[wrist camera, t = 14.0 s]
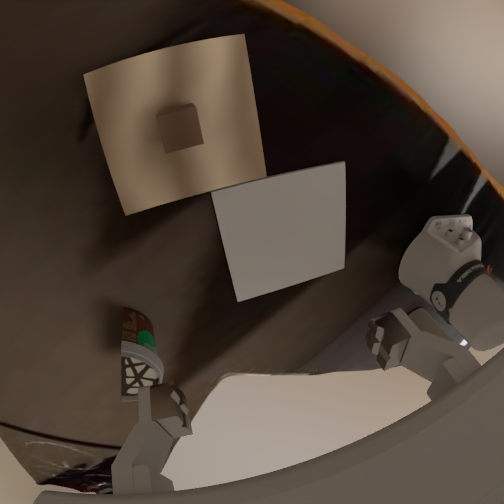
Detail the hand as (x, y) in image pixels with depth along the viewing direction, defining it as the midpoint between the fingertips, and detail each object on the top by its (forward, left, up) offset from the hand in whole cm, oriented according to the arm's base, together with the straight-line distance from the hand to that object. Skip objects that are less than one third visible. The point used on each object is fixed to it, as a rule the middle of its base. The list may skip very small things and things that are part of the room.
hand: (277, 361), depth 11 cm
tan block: (+1, -6, -27) cm, 28 cm away
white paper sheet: (-10, +13, -27) cm, 32 cm away
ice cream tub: (+15, +23, -28) cm, 39 cm away
